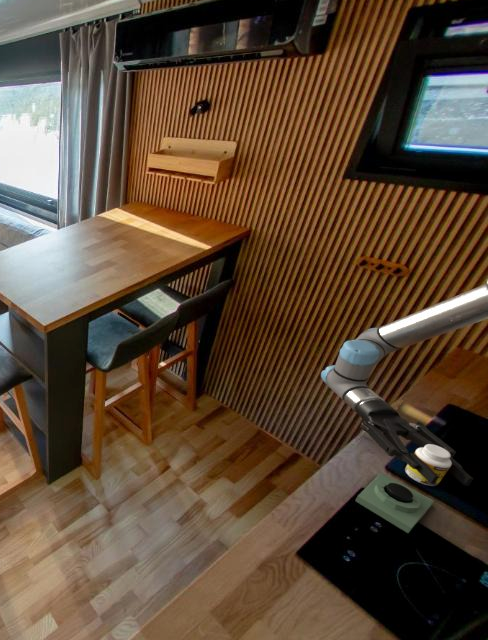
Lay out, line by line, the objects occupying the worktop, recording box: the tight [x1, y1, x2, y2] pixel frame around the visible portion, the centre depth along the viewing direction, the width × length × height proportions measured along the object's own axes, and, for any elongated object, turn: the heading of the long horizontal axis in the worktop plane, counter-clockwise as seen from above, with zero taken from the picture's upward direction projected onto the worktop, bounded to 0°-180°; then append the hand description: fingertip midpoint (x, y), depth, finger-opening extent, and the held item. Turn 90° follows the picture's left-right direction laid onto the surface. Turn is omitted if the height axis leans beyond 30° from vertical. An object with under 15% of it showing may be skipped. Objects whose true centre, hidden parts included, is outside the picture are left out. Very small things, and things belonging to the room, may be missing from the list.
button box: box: [354, 472, 435, 534], centre depth 88 cm, size 12×9×4 cm
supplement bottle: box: [404, 444, 452, 487], centre depth 91 cm, size 6×6×10 cm
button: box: [385, 483, 413, 503], centre depth 87 cm, size 4×4×2 cm
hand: (451, 480), depth 86 cm, fingers closed on supplement bottle, 6 cm apart
